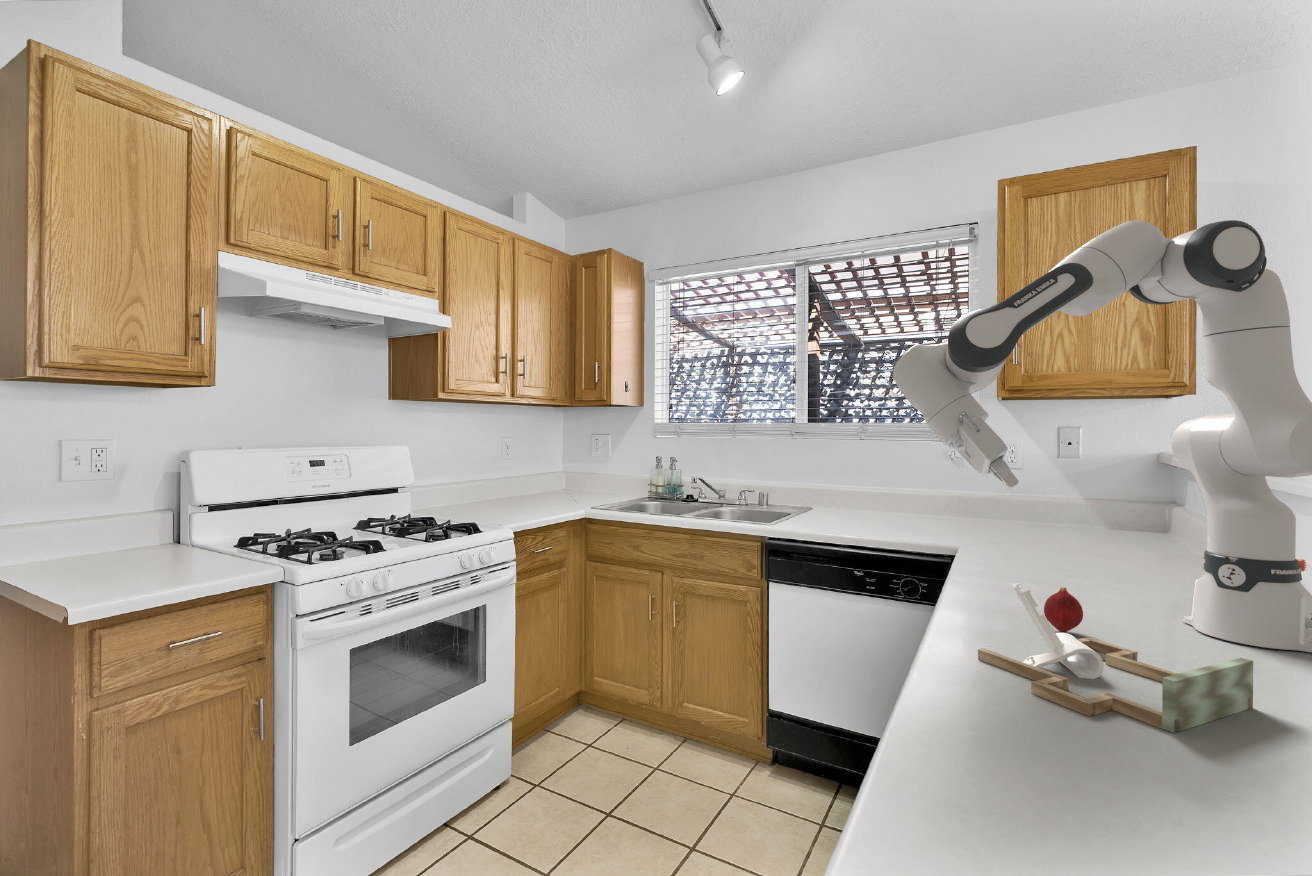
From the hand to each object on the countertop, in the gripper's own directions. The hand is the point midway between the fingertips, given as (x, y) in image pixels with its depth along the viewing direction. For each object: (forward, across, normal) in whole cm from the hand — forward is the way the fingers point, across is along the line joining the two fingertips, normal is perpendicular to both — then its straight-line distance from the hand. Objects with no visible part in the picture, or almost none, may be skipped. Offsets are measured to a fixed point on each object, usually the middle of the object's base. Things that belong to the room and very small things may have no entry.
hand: (1014, 486), depth 104 cm
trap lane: (+29, -10, +9) cm, 32 cm away
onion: (+24, +14, +8) cm, 29 cm away
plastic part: (+25, -6, +13) cm, 29 cm away
